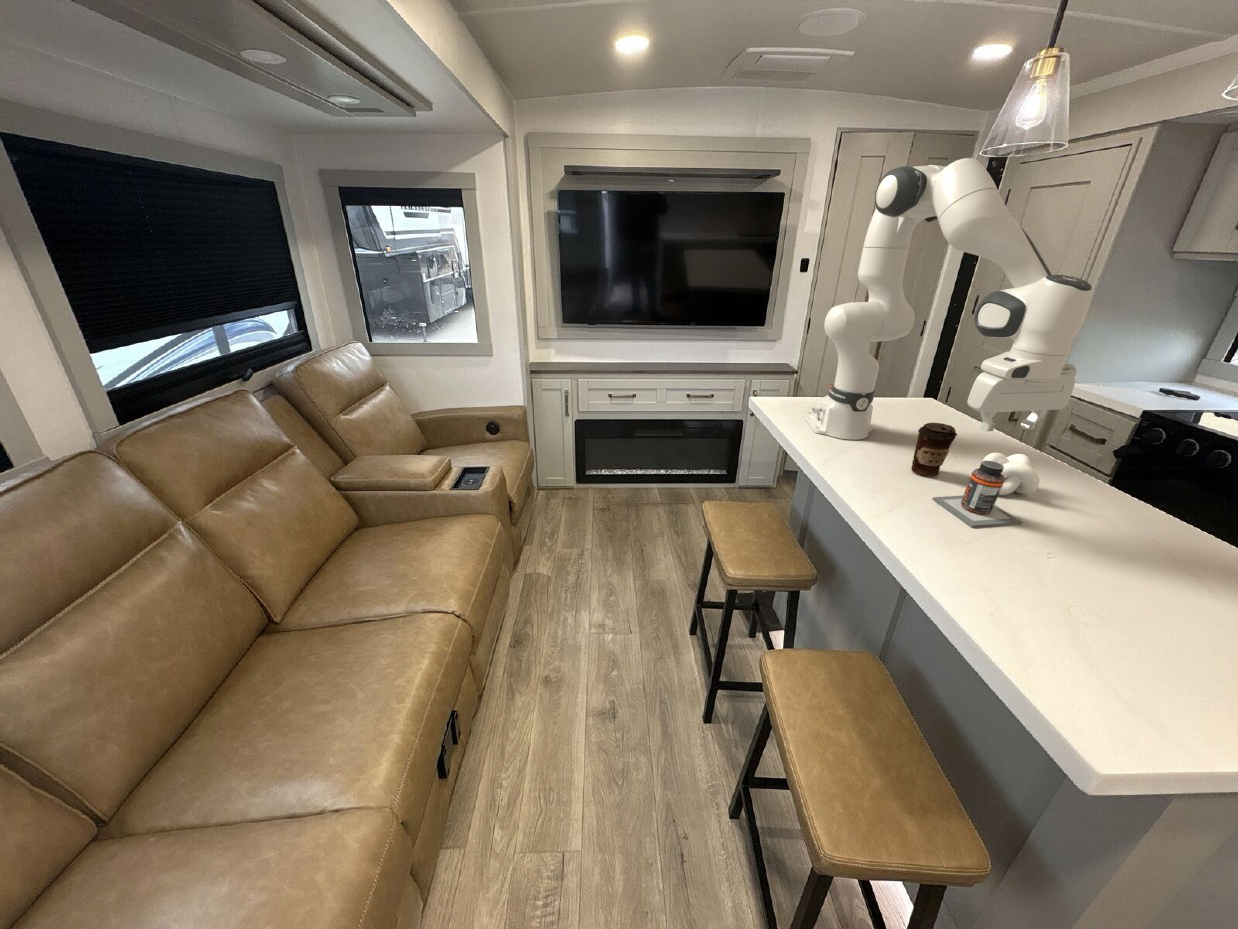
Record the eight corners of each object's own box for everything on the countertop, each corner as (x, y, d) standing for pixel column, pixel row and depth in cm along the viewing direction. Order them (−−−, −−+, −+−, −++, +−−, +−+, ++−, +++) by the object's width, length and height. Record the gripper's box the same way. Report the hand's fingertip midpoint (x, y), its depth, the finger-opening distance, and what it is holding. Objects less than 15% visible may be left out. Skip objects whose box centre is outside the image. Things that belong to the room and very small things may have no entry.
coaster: (932, 499, 115) (933, 497, 114) (977, 496, 116) (978, 494, 116) (971, 527, 104) (972, 525, 104) (1021, 524, 106) (1022, 521, 105)
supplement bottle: (958, 499, 114) (974, 456, 108) (988, 505, 111) (1007, 461, 106) (961, 511, 109) (978, 466, 104) (993, 518, 106) (1012, 472, 101)
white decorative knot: (969, 473, 127) (981, 442, 123) (1025, 484, 122) (1039, 452, 118) (973, 492, 118) (986, 459, 114) (1034, 505, 113) (1050, 471, 109)
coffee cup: (948, 482, 123) (965, 434, 117) (913, 478, 124) (928, 431, 118) (935, 467, 130) (951, 421, 125) (902, 463, 132) (915, 419, 126)
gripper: (1064, 359, 99) (1036, 421, 106) (975, 361, 97) (951, 425, 103) (1095, 368, 94) (1063, 433, 100) (1001, 370, 91) (975, 437, 97)
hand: (1006, 429), depth 101 cm, fingers open, 8 cm apart
